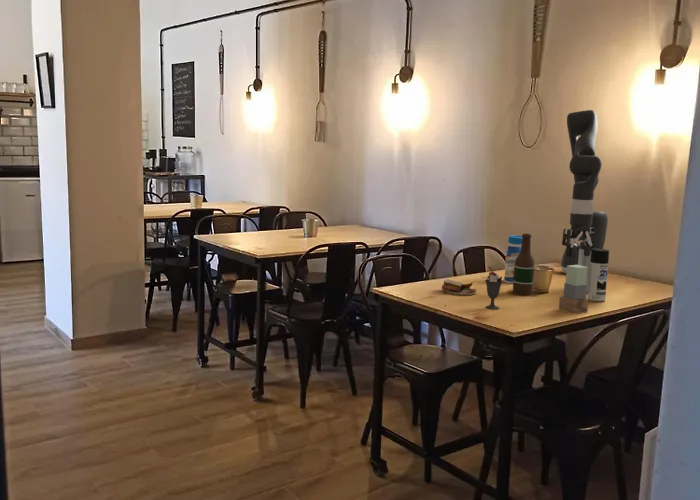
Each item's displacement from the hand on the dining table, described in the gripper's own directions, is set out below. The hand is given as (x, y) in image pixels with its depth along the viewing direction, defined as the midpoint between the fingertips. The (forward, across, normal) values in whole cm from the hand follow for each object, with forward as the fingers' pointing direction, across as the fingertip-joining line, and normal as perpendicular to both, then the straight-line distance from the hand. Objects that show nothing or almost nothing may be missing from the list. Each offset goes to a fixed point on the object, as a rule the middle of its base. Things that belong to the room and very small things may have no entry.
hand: (578, 256), depth 243 cm
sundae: (+20, +26, -14) cm, 36 cm away
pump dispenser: (+21, -53, -52) cm, 77 cm away
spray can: (+20, -22, -9) cm, 31 cm away
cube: (+15, 0, 0) cm, 15 cm away
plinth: (+20, 0, 0) cm, 20 cm away
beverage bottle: (+20, -13, -48) cm, 53 cm away
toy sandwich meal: (+20, +22, -39) cm, 49 cm away
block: (+10, 0, 0) cm, 10 cm away
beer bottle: (+20, -2, -29) cm, 36 cm away
